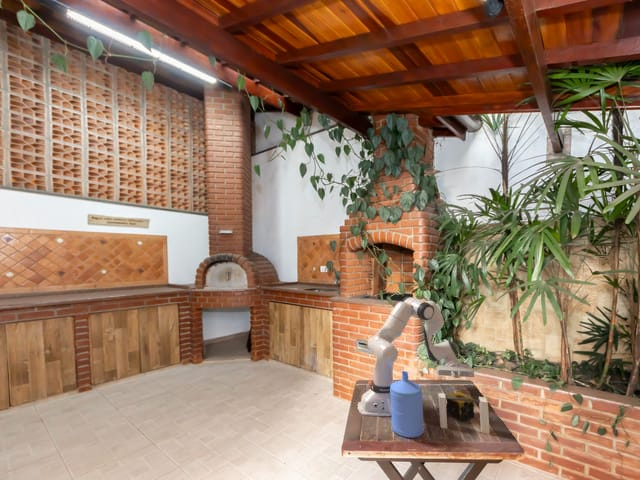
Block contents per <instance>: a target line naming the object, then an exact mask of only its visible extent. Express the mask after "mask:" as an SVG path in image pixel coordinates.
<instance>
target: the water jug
mask: <svg viewBox="0 0 640 480" xmlns="http://www.w3.org/2000/svg"><path fill="white" fill-rule="evenodd" d="M422 391H423V389H422V387H421V385H420V384H419V383H416V382H413V381H412V380H409V371H405V370H404V371H403V370H402V371H401V380H397V381H393V383H392V384H391V386H390V395H391V429H392V430H393V432H394V433H396V434H397V435H399V436H401V437H404V438H410V439H413V438H417V437H420V436H422V435H423V433H424V432H425V425H424V408H423V392H422Z"/></svg>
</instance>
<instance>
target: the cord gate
mask: <svg viewBox="0 0 640 480" xmlns="http://www.w3.org/2000/svg"><path fill="white" fill-rule="evenodd" d="M446 399H450V400H460V401H470V402H474V403H478V406H479V407H478V408H479V409H478V410H479V421H480V422H479V424H480V425H479V426H480V429H481V431H482V434H486V435H487V434H489V435H490V419H489V418H490V417H489V402H488V400H487V398H486V397H485V396H478V399H474V398H472V399H467V398H457V397H446V394H445V393H442V392H438V408H439V409H438V411H439V424H440V428H442V429H448V420H447V418H448V417H447V415H448V414H447V413H446V406H447V400H446Z"/></svg>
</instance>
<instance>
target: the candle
mask: <svg viewBox="0 0 640 480" xmlns="http://www.w3.org/2000/svg"><path fill="white" fill-rule="evenodd" d="M445 396H446V397H457V398H467V399H473V397H470V396H468V395H466V394H464V393H463V392H461V391H457V392H453V393H449V394H445ZM446 415H449V416H450V417H452V418H453V419H456V420H457V421H458V422H461V423H462V422H465V421H469V420H472V419H475V402H470V401H460V400H450V399H446Z"/></svg>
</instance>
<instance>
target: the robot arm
mask: <svg viewBox="0 0 640 480" xmlns="http://www.w3.org/2000/svg"><path fill="white" fill-rule="evenodd" d="M412 317H414V318H415V319H420V320H421V321H424V325H423V326H422V335H423V339H424V345H425V351H426V352H425V353H426V356H427V359H429V360H430V361H431V362H434V363H435V362H438V361H440V360H441V361H442V360H444V365H441V364H439V365H437V366H436V367H435V369H436V373H437V375H439V376H446V377H447V376H448V377H453V378H455V379H460V377H464V378H474V377H475V371H474V369H473V367H472V366H471V365H469V362H464V361H460V359H458V358H459V352H458V350H457V348H456V346H455V344H454V342H451V341H450V340H447V341H443V342H439V343H436V344H433V343H432V340H431V338H432V336H433V335H435V334H436V333H437V332H439V331H441V329H442V328H443V326H444V323H445V321H444V317H443V314H442V312H441V309H440V308H439V306H438V305H437V303H436V302H435V301H433V300H426V301H424V300H422V299H420V298H416V297H413V296H405V297H404V298H402V300H401V301H399V302H397V303H396V304H395V305H394V307H393V308H392V309H391V311H390V313H389V314H388V317H387V318H386V320H385V322H384V324H383V325H382V326H381V328H379V330H378V331H377V332H376V333H375V334H374V335H372V336H371V337H369V338H368V340H367V343H366V344H367V348H368V350H369V351H370V353H371V354H372V355H374V356H375V359H376V360H375V365H374V367H373V369H372V372H373V374H372V375H373V376H372V377H373V381H371V380H369V381H368V383H367V384H368V386H369V387H370V388H369V389H368V390H367V391H366V392H364V393H363V394H362V395H361V399H360V400H361V401H358V403H357V406H358V407H357V411H358V410H359V411H358V412H359V413H360V415H362V416H371V417H373V416H374V417H390V416H391V395H390V386H391V384H392V383H393V382H394V374H393V373H394V364H395V361H396V360H397V359H398V356H399V351H398V349H397V348H396V346H395V345H394V344H393V342H394V341H395V340H396V339H398V338H400V337H401V336H402V333H403V332H404V330H405V329H406V327H407V325H408V323H409V320H410V319H411V318H412ZM391 417H392V416H391Z"/></svg>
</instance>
